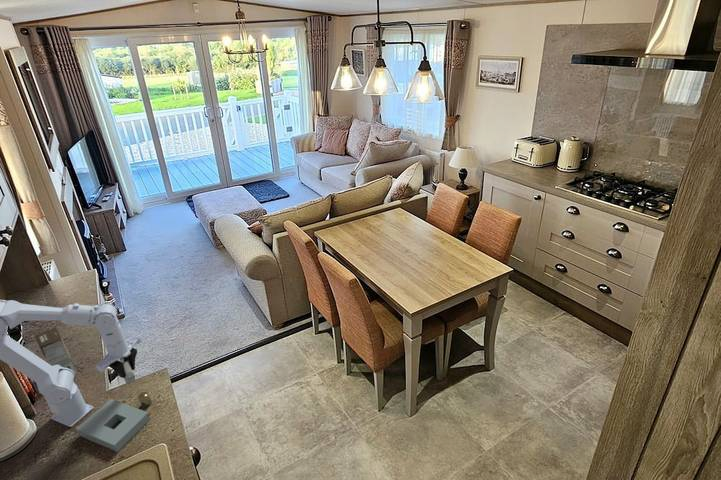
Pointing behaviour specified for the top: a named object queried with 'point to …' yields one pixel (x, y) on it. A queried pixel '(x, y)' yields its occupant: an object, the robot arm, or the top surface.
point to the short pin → (145, 399)
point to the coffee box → (54, 349)
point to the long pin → (127, 370)
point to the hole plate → (107, 417)
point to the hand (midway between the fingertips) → (127, 372)
